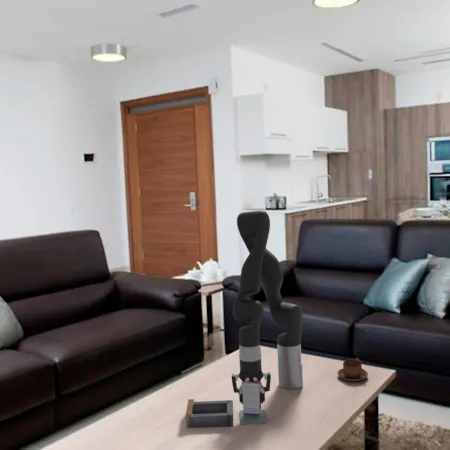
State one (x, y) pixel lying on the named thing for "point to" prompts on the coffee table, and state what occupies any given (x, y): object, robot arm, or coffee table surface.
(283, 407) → the coffee table surface
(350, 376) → the cup and saucer
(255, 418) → the rubber pad
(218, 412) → the grey wooden frame
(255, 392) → the supplement box
